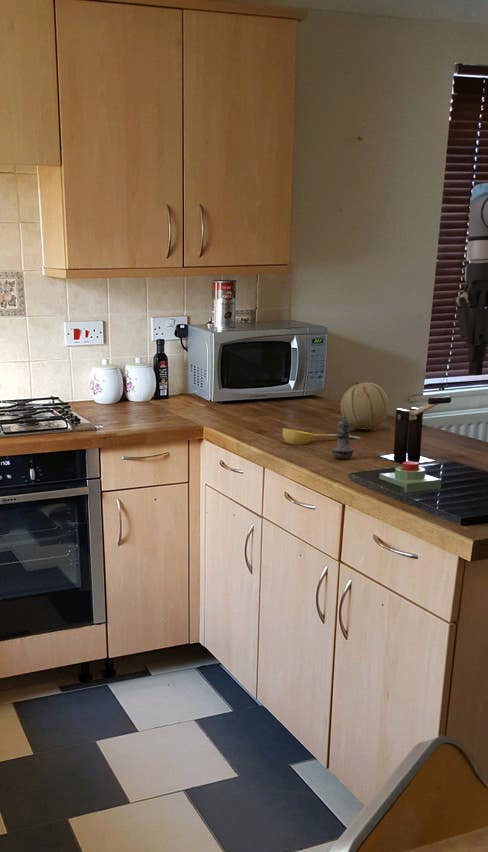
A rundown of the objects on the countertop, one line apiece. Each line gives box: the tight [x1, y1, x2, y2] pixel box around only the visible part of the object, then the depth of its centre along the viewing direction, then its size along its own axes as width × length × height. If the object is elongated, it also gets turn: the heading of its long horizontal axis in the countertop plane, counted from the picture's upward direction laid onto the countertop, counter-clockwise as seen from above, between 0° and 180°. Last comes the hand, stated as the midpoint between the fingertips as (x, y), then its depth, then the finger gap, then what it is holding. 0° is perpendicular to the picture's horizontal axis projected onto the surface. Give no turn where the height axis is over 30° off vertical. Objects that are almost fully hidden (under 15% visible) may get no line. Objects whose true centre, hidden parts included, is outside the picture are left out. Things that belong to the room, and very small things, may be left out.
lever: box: [407, 395, 452, 422], centre depth 214 cm, size 15×6×2 cm, turn 19°
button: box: [401, 461, 420, 471], centre depth 199 cm, size 4×4×2 cm
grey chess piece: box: [330, 416, 355, 461], centre depth 225 cm, size 6×6×12 cm
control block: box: [378, 466, 442, 494], centre depth 199 cm, size 11×9×4 cm
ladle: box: [282, 427, 361, 446], centre depth 252 cm, size 9×26×6 cm, turn 107°
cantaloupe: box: [340, 380, 390, 429], centre depth 272 cm, size 15×15×15 cm
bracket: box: [378, 407, 437, 465], centre depth 222 cm, size 12×9×14 cm
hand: (475, 374), depth 195 cm, fingers closed
